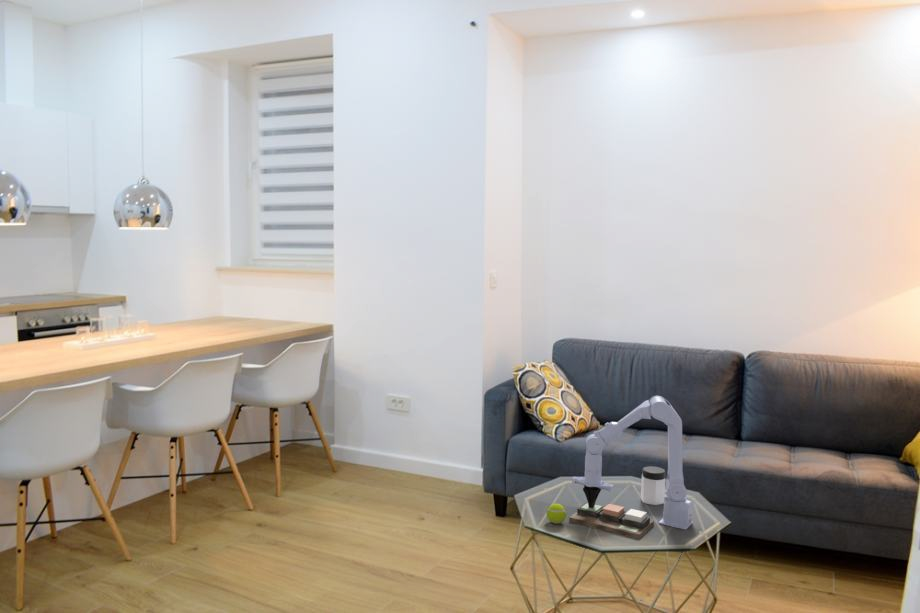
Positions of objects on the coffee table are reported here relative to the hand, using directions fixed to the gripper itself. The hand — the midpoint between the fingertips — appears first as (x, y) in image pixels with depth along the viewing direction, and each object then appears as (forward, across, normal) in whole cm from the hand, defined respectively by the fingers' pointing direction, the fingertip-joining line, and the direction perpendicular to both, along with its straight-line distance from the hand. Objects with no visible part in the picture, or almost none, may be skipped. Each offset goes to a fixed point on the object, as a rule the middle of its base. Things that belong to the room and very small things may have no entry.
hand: (591, 507), depth 271 cm
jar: (+4, +12, +28) cm, 30 cm away
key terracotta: (0, +8, 0) cm, 8 cm away
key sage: (+2, 0, 0) cm, 2 cm away
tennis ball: (+4, -8, -12) cm, 15 cm away
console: (+3, +8, -2) cm, 9 cm away
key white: (0, +16, 0) cm, 16 cm away
